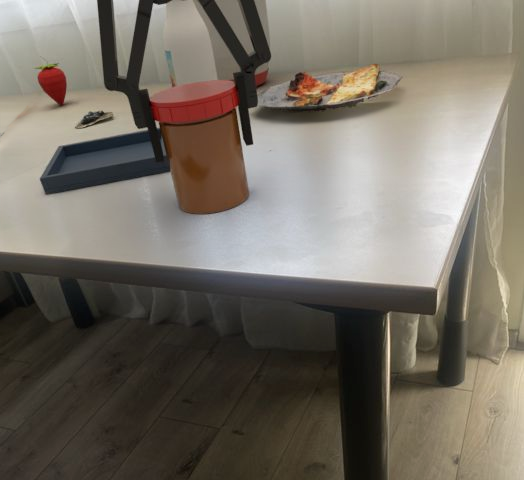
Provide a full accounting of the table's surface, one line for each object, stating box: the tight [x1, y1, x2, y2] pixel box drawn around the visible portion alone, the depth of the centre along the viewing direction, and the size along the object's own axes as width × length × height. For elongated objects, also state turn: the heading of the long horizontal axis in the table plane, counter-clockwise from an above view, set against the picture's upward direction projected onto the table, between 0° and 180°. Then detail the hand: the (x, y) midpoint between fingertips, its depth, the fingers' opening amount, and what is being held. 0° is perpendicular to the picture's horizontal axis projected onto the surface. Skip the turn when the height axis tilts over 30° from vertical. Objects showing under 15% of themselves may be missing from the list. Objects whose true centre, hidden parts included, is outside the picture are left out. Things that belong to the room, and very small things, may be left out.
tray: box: [39, 127, 170, 195], centre depth 75 cm, size 17×16×2 cm
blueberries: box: [74, 110, 114, 129], centre depth 100 cm, size 7×8×2 cm
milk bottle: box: [162, 0, 218, 88], centre depth 86 cm, size 8×8×20 cm
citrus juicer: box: [193, 0, 271, 88], centre depth 103 cm, size 16×17×20 cm
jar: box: [158, 107, 250, 215], centre depth 56 cm, size 8×8×10 cm
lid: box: [149, 80, 239, 123], centre depth 53 cm, size 9×9×2 cm
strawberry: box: [34, 55, 68, 106], centre depth 116 cm, size 6×8×10 cm
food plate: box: [257, 63, 404, 113], centre depth 87 cm, size 25×23×4 cm
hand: (204, 149), depth 56 cm, fingers closed on lid, 9 cm apart
